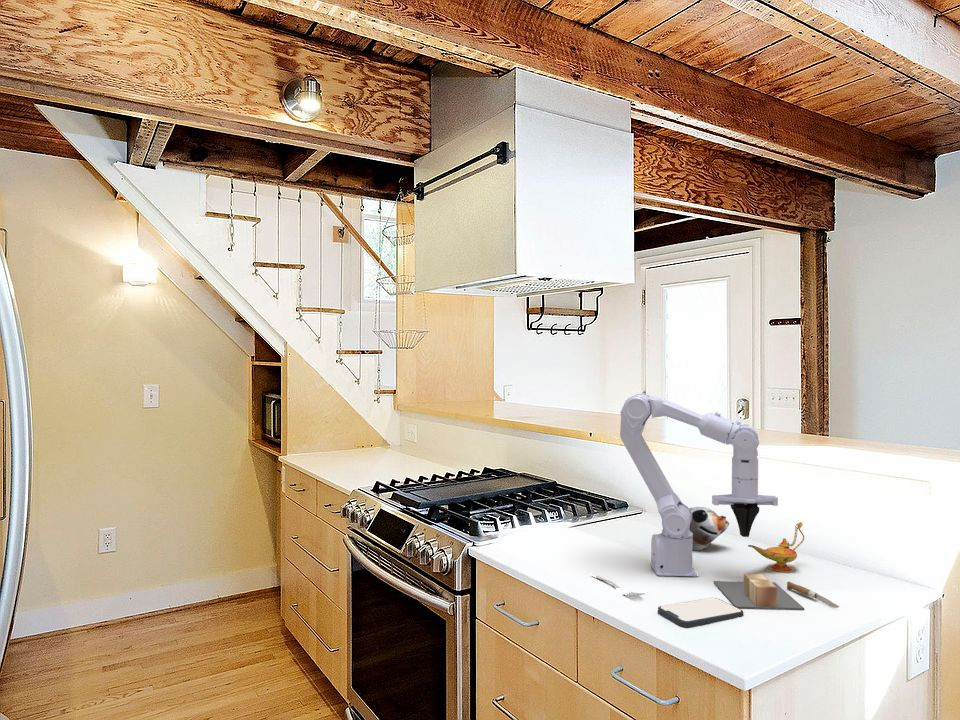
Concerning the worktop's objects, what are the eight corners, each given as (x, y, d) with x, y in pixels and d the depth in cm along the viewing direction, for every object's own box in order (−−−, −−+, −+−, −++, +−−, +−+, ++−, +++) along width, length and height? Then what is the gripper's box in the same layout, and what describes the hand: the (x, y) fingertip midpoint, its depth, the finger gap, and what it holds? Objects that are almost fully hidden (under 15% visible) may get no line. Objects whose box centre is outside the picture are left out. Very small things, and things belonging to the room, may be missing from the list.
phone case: (714, 603, 144) (654, 613, 137) (714, 596, 143) (654, 606, 137) (746, 619, 135) (684, 631, 129) (746, 611, 135) (684, 622, 129)
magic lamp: (737, 569, 164) (738, 524, 164) (792, 561, 171) (793, 518, 170) (758, 578, 157) (759, 532, 157) (814, 569, 164) (815, 524, 164)
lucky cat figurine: (704, 537, 191) (727, 499, 185) (717, 566, 180) (741, 527, 174) (656, 523, 189) (677, 484, 184) (665, 551, 178) (688, 511, 173)
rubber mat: (735, 608, 139) (736, 606, 139) (713, 582, 154) (713, 581, 154) (804, 610, 139) (804, 608, 139) (774, 584, 154) (774, 582, 154)
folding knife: (842, 611, 139) (842, 602, 139) (836, 612, 138) (837, 602, 138) (789, 589, 151) (790, 580, 151) (784, 589, 151) (784, 581, 151)
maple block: (743, 591, 148) (757, 606, 140) (743, 573, 147) (757, 587, 139) (761, 592, 147) (776, 606, 139) (762, 574, 147) (776, 587, 139)
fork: (580, 567, 165) (580, 560, 165) (646, 601, 144) (646, 593, 144) (569, 569, 164) (569, 562, 164) (634, 603, 142) (634, 595, 142)
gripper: (718, 480, 152) (718, 540, 152) (783, 481, 152) (783, 540, 152) (709, 474, 159) (709, 531, 159) (771, 475, 159) (770, 532, 159)
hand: (744, 535), depth 156 cm, fingers closed
